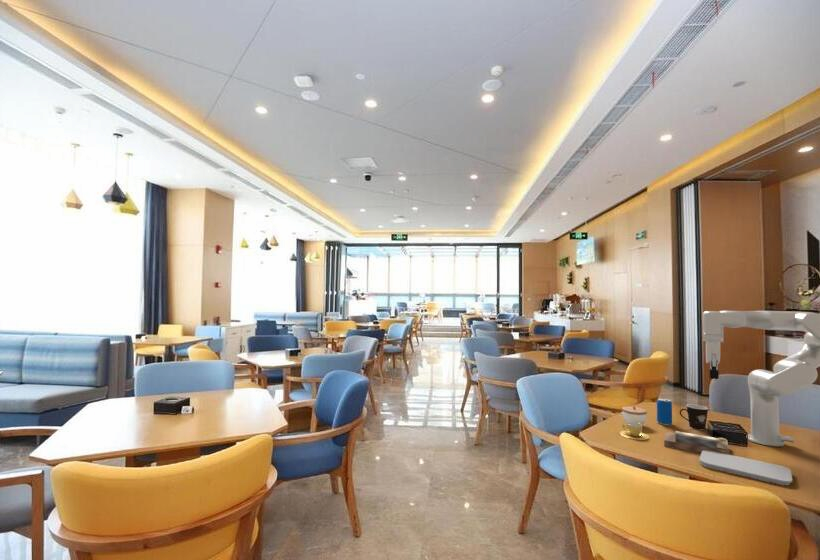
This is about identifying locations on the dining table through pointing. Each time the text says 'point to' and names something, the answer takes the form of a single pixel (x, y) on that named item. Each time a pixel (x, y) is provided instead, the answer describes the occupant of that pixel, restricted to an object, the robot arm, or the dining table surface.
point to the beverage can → (664, 411)
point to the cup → (634, 431)
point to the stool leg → (720, 441)
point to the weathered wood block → (692, 443)
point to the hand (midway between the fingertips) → (714, 378)
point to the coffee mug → (696, 416)
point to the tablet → (746, 467)
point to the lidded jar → (634, 414)
